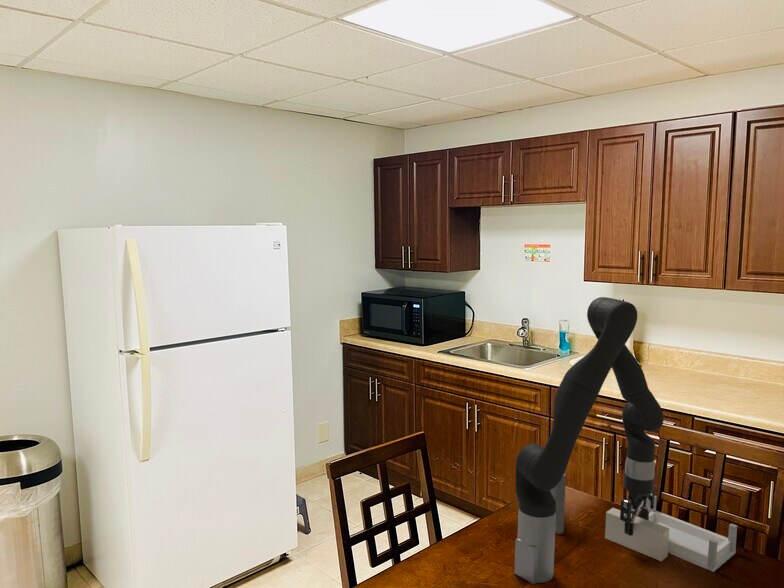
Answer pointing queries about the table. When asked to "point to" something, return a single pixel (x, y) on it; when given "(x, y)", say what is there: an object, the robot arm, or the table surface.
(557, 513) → the hip flask
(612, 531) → the panel
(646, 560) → the table surface
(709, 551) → the rack
